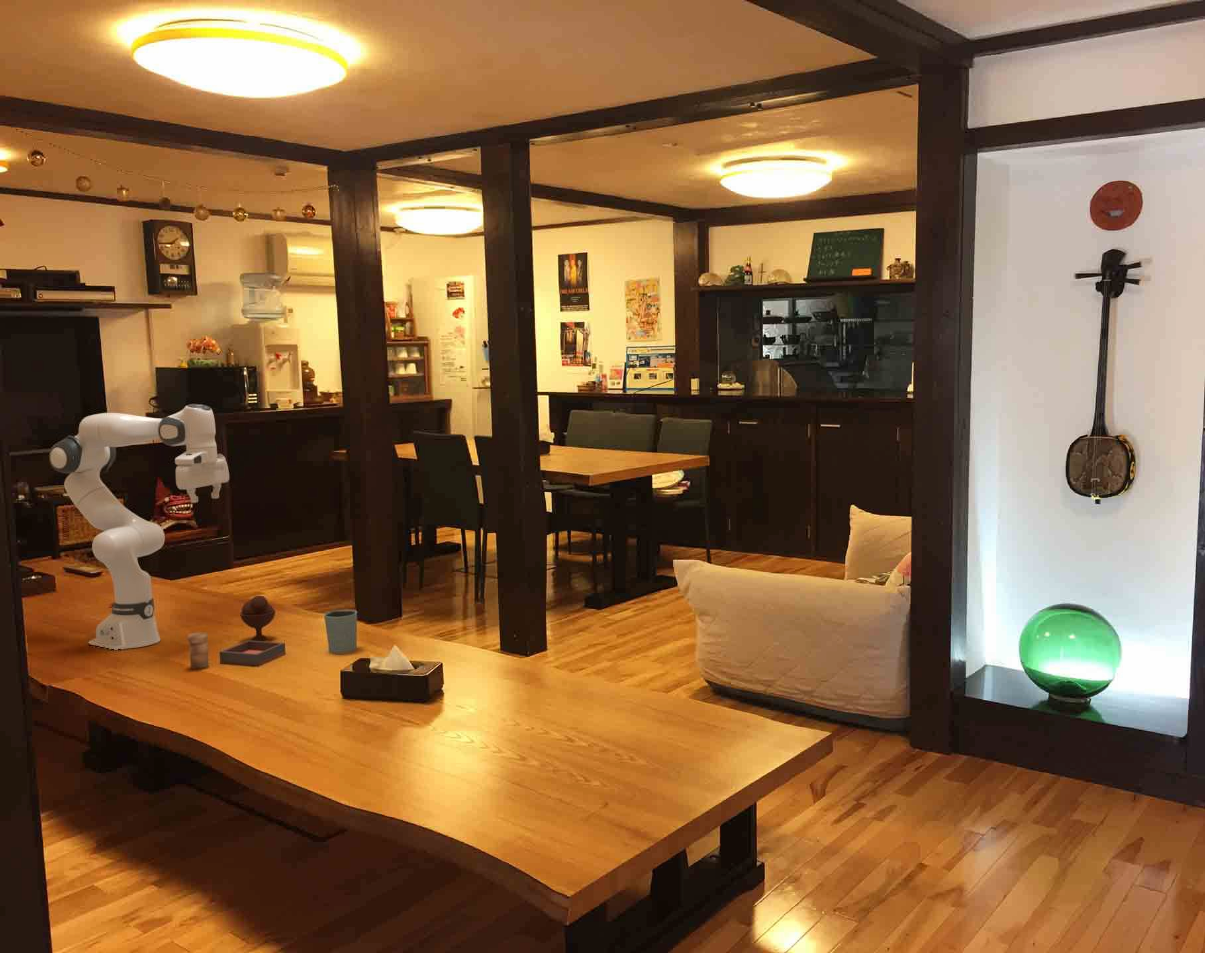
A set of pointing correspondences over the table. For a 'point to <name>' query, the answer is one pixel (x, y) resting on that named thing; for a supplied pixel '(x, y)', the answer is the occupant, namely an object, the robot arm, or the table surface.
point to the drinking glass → (341, 631)
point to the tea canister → (198, 651)
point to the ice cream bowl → (257, 615)
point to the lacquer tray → (252, 653)
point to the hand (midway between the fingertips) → (205, 500)
